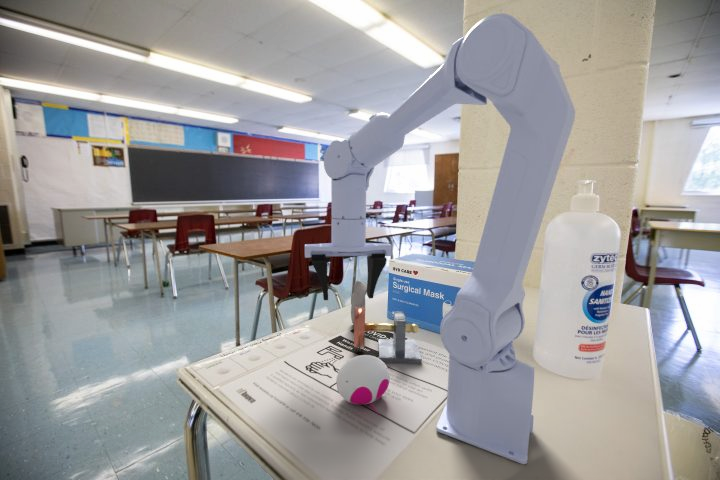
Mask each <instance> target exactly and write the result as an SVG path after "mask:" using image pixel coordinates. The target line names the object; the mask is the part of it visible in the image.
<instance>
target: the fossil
mask: <svg viewBox="0 0 720 480" xmlns="http://www.w3.org/2000/svg"><path fill="white" fill-rule="evenodd" d="M366 296H367V282H365V281H361V280H355V283H354V285H353V292H352V294H351V298H350V303H351V308H350V319H351V323H352V324H353V325H354V314H355V307H364V308H365V309H366Z"/></svg>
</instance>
